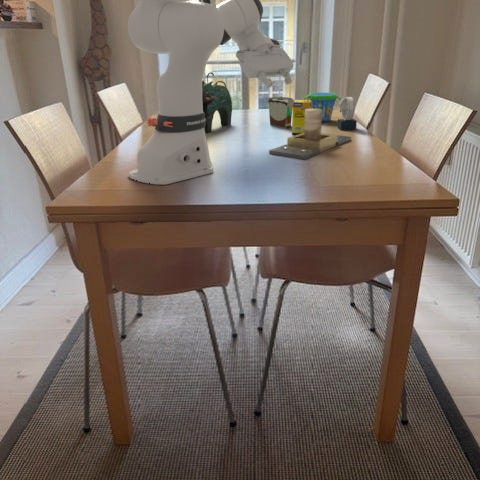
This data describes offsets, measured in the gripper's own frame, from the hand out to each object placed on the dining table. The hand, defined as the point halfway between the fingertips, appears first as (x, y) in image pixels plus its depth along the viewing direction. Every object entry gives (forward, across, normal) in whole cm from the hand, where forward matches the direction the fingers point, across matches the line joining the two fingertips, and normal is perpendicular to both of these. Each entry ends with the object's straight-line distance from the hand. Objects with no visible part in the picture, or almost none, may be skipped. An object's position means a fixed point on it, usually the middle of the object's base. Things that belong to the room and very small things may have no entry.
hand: (280, 84), depth 138 cm
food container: (+2, +22, +24) cm, 32 cm away
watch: (+17, +30, +8) cm, 36 cm away
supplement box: (+11, +14, +14) cm, 23 cm away
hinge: (+21, 0, +3) cm, 22 cm away
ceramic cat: (-10, +2, +36) cm, 37 cm away
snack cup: (+6, +38, +20) cm, 44 cm away
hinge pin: (+21, 0, +3) cm, 21 cm away
